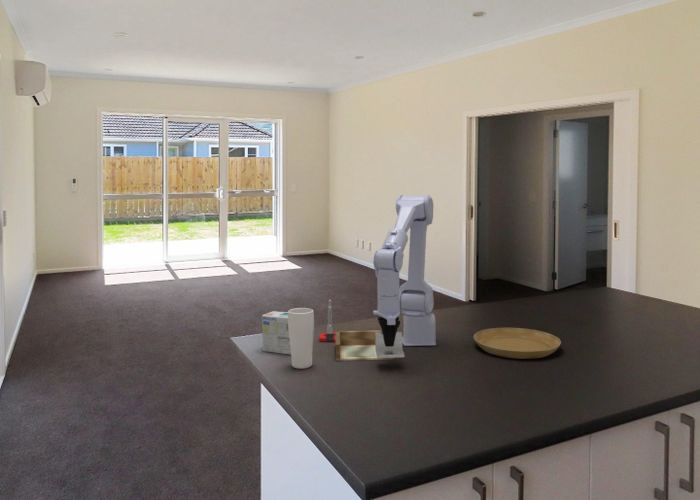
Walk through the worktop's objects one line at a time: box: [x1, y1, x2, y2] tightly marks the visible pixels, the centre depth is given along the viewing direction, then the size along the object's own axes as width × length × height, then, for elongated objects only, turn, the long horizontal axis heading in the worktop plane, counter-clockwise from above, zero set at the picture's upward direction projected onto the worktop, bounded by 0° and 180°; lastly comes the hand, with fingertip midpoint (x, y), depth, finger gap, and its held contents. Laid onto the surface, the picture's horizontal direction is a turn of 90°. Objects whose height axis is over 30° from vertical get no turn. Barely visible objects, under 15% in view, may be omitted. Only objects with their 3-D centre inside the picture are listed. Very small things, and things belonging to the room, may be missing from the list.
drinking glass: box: [287, 307, 315, 370], centre depth 151 cm, size 7×7×15 cm
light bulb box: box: [261, 310, 291, 356], centre depth 166 cm, size 11×7×11 cm, turn 65°
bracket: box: [375, 331, 405, 358], centre depth 149 cm, size 7×6×5 cm
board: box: [335, 345, 396, 362], centre depth 163 cm, size 16×14×1 cm
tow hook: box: [318, 299, 336, 343], centre depth 178 cm, size 8×13×9 cm
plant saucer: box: [473, 327, 562, 360], centre depth 165 cm, size 24×24×3 cm
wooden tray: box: [334, 329, 382, 360], centre depth 163 cm, size 16×14×4 cm
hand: (388, 344), depth 152 cm, fingers closed on bracket
